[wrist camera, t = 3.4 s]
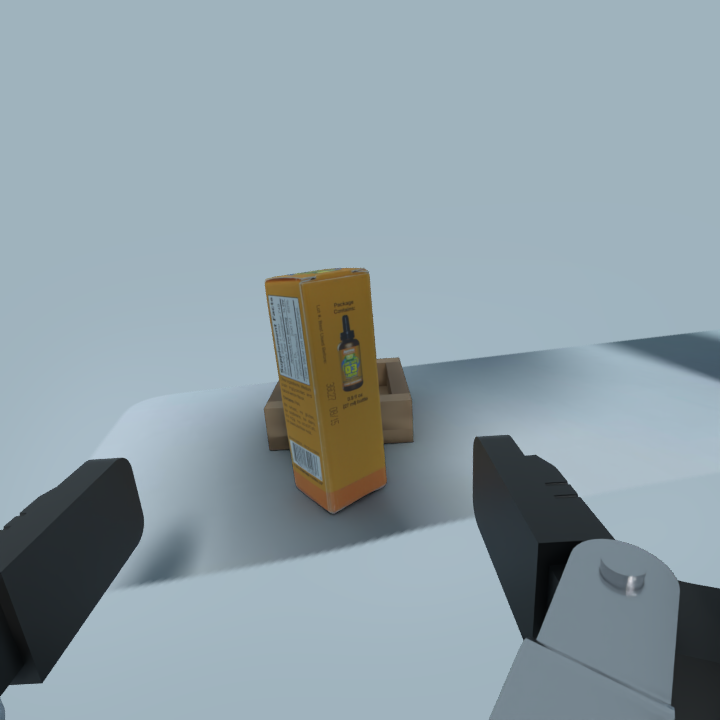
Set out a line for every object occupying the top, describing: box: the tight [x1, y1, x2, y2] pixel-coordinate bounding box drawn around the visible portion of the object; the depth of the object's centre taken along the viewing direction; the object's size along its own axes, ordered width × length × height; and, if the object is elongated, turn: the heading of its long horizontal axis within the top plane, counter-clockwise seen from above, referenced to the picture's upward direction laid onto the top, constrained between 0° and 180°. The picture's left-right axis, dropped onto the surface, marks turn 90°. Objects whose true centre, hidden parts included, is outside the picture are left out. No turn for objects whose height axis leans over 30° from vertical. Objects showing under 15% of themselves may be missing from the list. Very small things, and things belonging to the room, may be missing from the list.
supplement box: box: [265, 268, 387, 514], centre depth 19 cm, size 3×3×10 cm
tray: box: [264, 358, 413, 450], centre depth 28 cm, size 8×8×2 cm
